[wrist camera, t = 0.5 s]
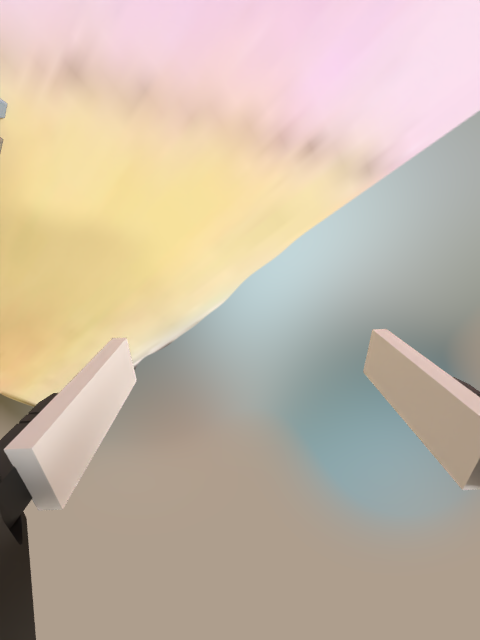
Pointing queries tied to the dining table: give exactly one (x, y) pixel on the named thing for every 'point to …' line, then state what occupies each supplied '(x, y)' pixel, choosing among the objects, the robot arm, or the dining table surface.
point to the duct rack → (2, 116)
